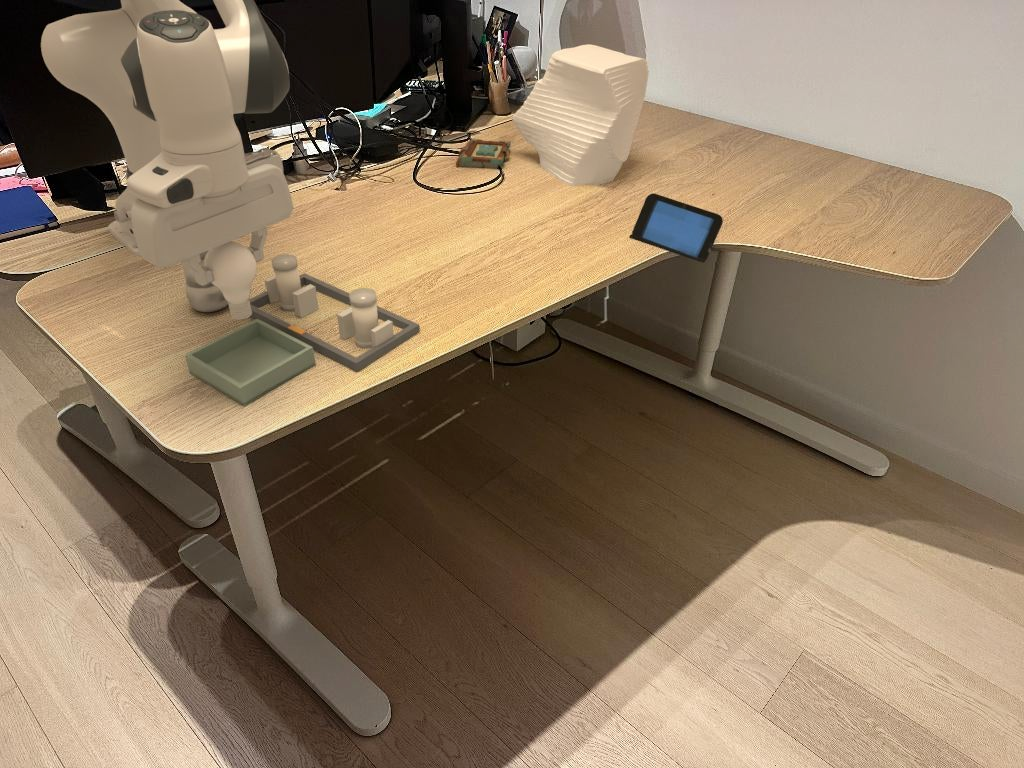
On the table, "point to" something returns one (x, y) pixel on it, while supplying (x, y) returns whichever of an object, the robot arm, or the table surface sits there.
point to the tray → (250, 361)
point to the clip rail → (308, 303)
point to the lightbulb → (233, 275)
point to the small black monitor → (677, 227)
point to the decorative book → (483, 153)
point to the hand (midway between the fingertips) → (231, 271)
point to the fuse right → (364, 315)
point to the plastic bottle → (203, 291)
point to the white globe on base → (286, 279)
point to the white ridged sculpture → (584, 113)
